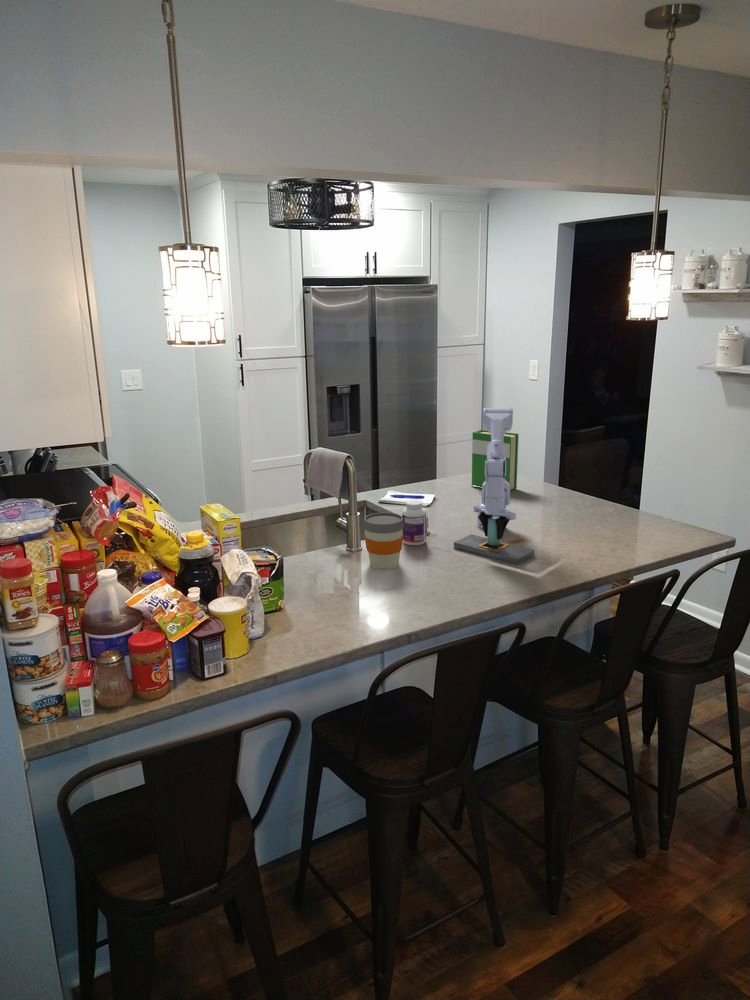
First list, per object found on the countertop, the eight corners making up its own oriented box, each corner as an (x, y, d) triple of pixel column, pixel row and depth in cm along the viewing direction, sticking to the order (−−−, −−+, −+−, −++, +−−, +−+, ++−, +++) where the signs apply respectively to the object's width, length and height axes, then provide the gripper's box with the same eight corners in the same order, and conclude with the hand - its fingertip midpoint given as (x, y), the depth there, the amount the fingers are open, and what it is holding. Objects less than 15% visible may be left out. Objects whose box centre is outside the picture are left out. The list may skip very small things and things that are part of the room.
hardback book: (516, 489, 303) (518, 433, 296) (508, 493, 297) (510, 436, 291) (480, 483, 313) (481, 429, 307) (471, 487, 308) (472, 432, 301)
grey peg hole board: (453, 550, 233) (453, 541, 232) (471, 542, 240) (471, 533, 239) (517, 568, 217) (517, 557, 217) (534, 558, 225) (534, 549, 224)
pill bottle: (409, 537, 247) (409, 497, 243) (430, 541, 243) (430, 500, 239) (398, 544, 240) (397, 503, 236) (419, 548, 236) (419, 506, 232)
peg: (484, 543, 228) (485, 519, 225) (491, 540, 230) (492, 516, 228) (495, 545, 225) (496, 521, 223) (502, 542, 228) (503, 518, 226)
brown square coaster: (497, 544, 238) (498, 541, 237) (510, 538, 243) (510, 535, 243) (518, 549, 233) (518, 547, 232) (531, 543, 238) (531, 540, 238)
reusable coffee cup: (370, 573, 216) (369, 526, 212) (360, 559, 228) (358, 514, 223) (409, 568, 219) (409, 522, 215) (397, 554, 231) (397, 510, 226)
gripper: (468, 495, 225) (467, 535, 229) (507, 503, 216) (506, 545, 220) (480, 490, 230) (480, 530, 234) (520, 498, 221) (518, 539, 225)
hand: (493, 537), depth 227 cm, fingers closed on peg, 4 cm apart
